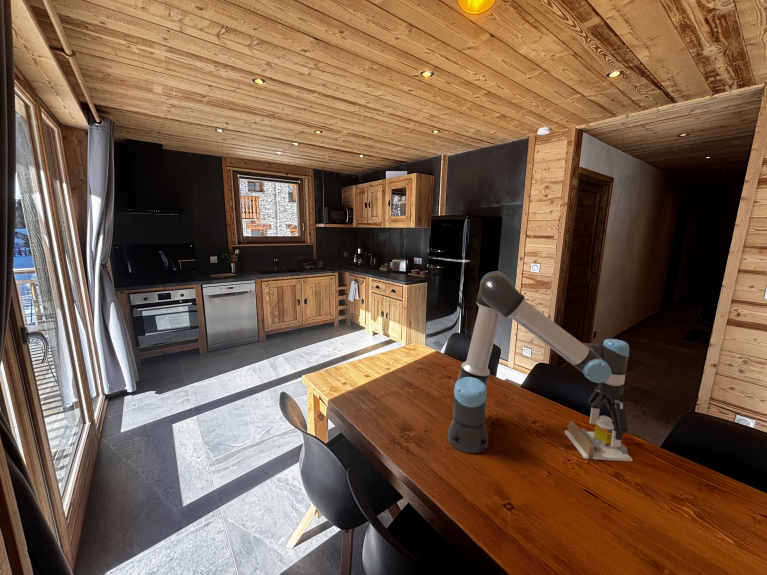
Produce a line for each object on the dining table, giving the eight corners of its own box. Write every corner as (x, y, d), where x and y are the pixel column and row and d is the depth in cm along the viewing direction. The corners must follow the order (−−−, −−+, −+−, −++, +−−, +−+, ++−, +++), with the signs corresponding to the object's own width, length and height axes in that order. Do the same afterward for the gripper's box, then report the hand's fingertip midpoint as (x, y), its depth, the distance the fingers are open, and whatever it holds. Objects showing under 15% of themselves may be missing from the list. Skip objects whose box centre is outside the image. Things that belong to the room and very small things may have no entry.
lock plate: (584, 458, 113) (586, 446, 112) (564, 432, 128) (565, 421, 127) (632, 461, 112) (634, 448, 111) (606, 434, 126) (607, 423, 126)
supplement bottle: (607, 449, 116) (610, 424, 114) (590, 441, 121) (594, 417, 119) (613, 444, 119) (617, 419, 117) (597, 436, 124) (600, 412, 122)
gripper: (647, 399, 103) (637, 458, 107) (601, 367, 128) (595, 415, 131) (623, 398, 104) (614, 456, 107) (582, 366, 128) (576, 415, 132)
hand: (603, 434), depth 119 cm, fingers open, 13 cm apart
